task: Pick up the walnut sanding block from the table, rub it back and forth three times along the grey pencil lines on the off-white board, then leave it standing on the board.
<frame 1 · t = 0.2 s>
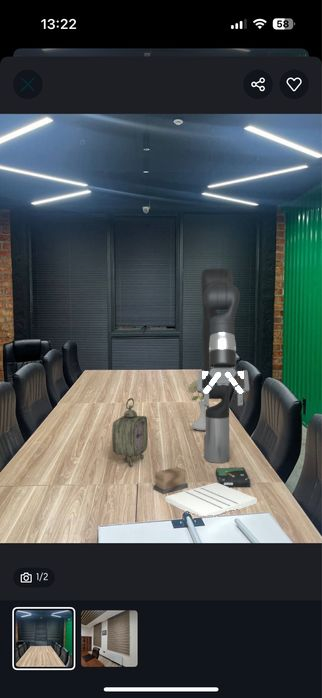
hand: (223, 407, 138), 31 cm above the table, tool tilted 20°, fingers open, 8 cm apart
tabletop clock: (130, 462, 194), on the table
disk drive: (232, 482, 172), on the table
sanding block: (170, 489, 165), on the table
board: (210, 502, 152), on the table
flower in vase: (201, 430, 248), on the table
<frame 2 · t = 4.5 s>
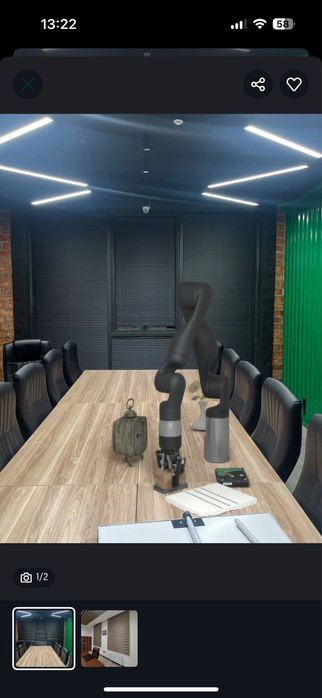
hand: (170, 484, 164), 2 cm above the table, tool pointing down, fingers closed on sanding block, 4 cm apart
sanding block: (170, 488, 164), on the table, touching gripper
everything else where it was.
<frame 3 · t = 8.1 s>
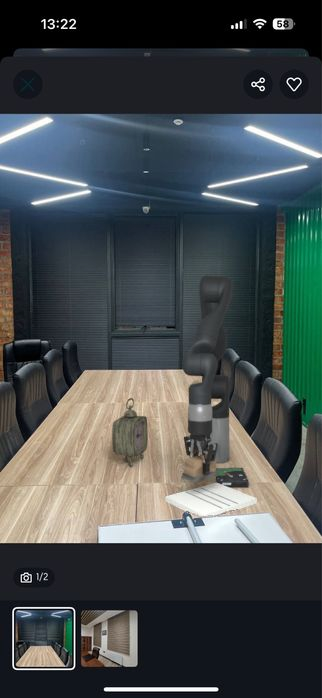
hand: (200, 472, 156), 8 cm above the table, tool pointing down, fingers closed on sanding block, 4 cm apart
sanding block: (200, 477, 156), point 7 cm above the table, touching gripper
everything else where it was.
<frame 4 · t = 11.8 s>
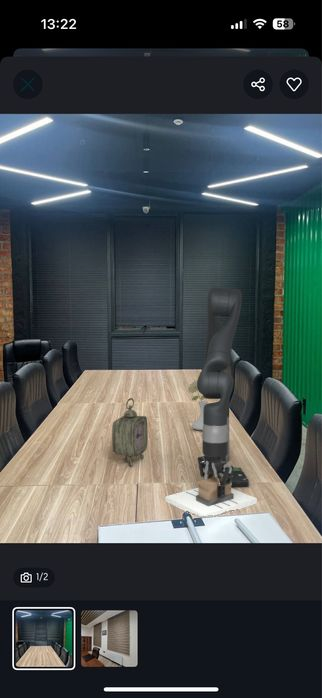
hand: (215, 494, 150), 3 cm above the table, tool pointing down, fingers closed on sanding block, 4 cm apart
sanding block: (214, 499, 150), point 2 cm above the table, touching gripper
everything else where it was.
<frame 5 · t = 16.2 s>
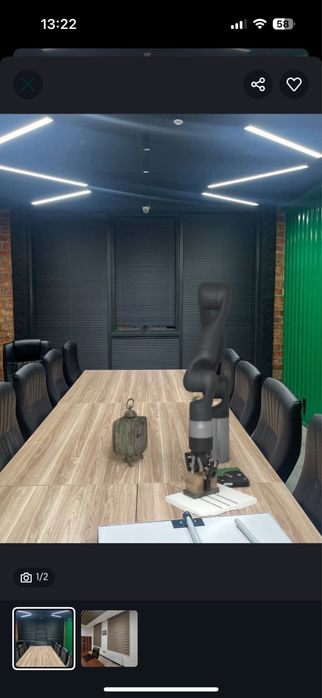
hand: (201, 488, 156), 3 cm above the table, tool pointing down, fingers closed on sanding block, 4 cm apart
sanding block: (201, 493, 156), point 2 cm above the table, touching board, gripper
when the fingers open (3 cm above the table, at t = 19.5 s): sanding block stays where it is, resting on board.
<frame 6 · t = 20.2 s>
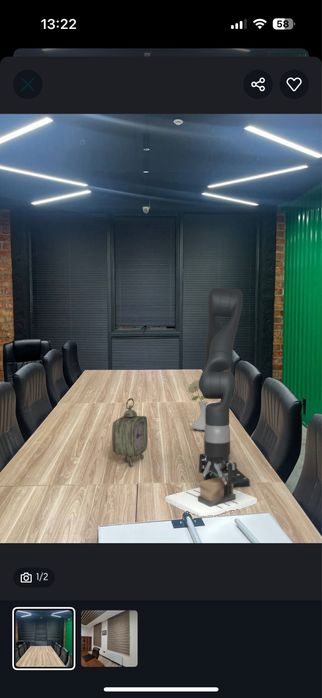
hand: (217, 492, 149), 4 cm above the table, tool pointing down, fingers open, 8 cm apart
sanding block: (216, 500, 150), point 2 cm above the table, touching board
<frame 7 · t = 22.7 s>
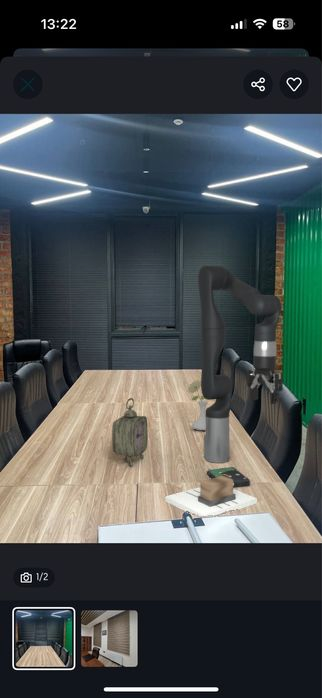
hand: (264, 401, 171), 27 cm above the table, tool pointing down, fingers open, 8 cm apart
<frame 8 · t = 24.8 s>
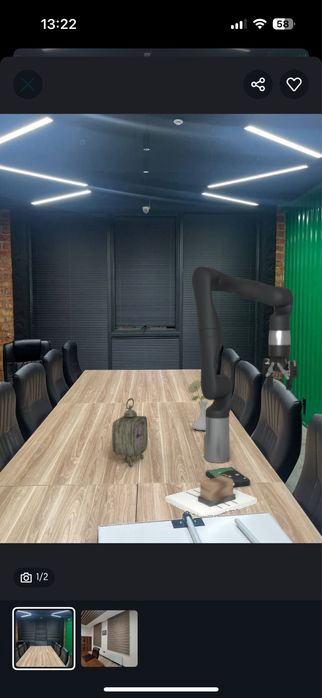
hand: (279, 388, 179), 30 cm above the table, tool pointing down, fingers open, 8 cm apart
at the end: sanding block inside the target area on the board (2.9 cm from its centre), point 1.5 cm above the board's base; sanding block tilted 0°; the gripper is holding nothing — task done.
